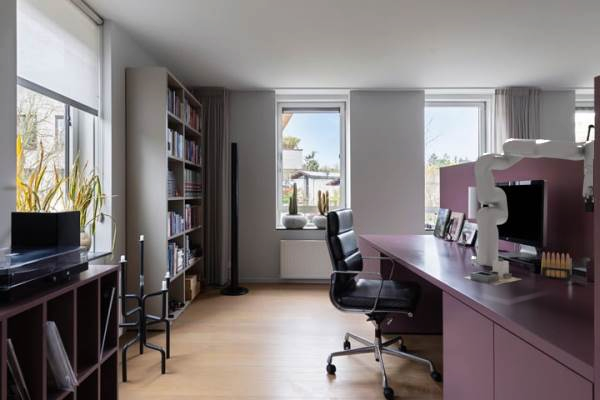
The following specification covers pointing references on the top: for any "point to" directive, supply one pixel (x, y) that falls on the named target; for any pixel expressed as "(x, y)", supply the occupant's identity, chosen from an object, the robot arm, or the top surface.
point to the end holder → (484, 276)
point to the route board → (506, 278)
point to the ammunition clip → (557, 271)
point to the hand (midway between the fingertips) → (595, 212)
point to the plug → (501, 267)
